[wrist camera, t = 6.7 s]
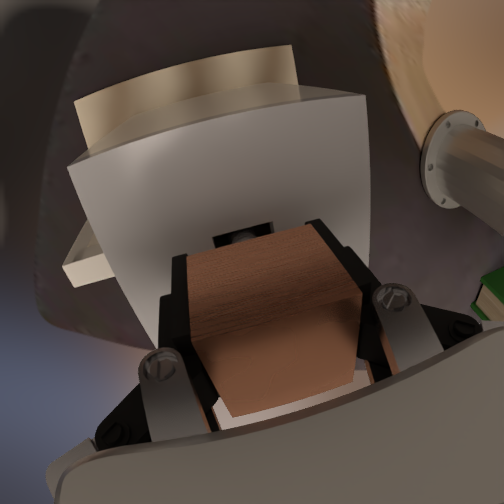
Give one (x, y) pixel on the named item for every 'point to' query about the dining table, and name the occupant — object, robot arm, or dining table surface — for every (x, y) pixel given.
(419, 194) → the dining table surface
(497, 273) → the hardback book
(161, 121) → the press pot
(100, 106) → the birch board
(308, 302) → the brown square-faced block
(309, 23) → the dining table surface
